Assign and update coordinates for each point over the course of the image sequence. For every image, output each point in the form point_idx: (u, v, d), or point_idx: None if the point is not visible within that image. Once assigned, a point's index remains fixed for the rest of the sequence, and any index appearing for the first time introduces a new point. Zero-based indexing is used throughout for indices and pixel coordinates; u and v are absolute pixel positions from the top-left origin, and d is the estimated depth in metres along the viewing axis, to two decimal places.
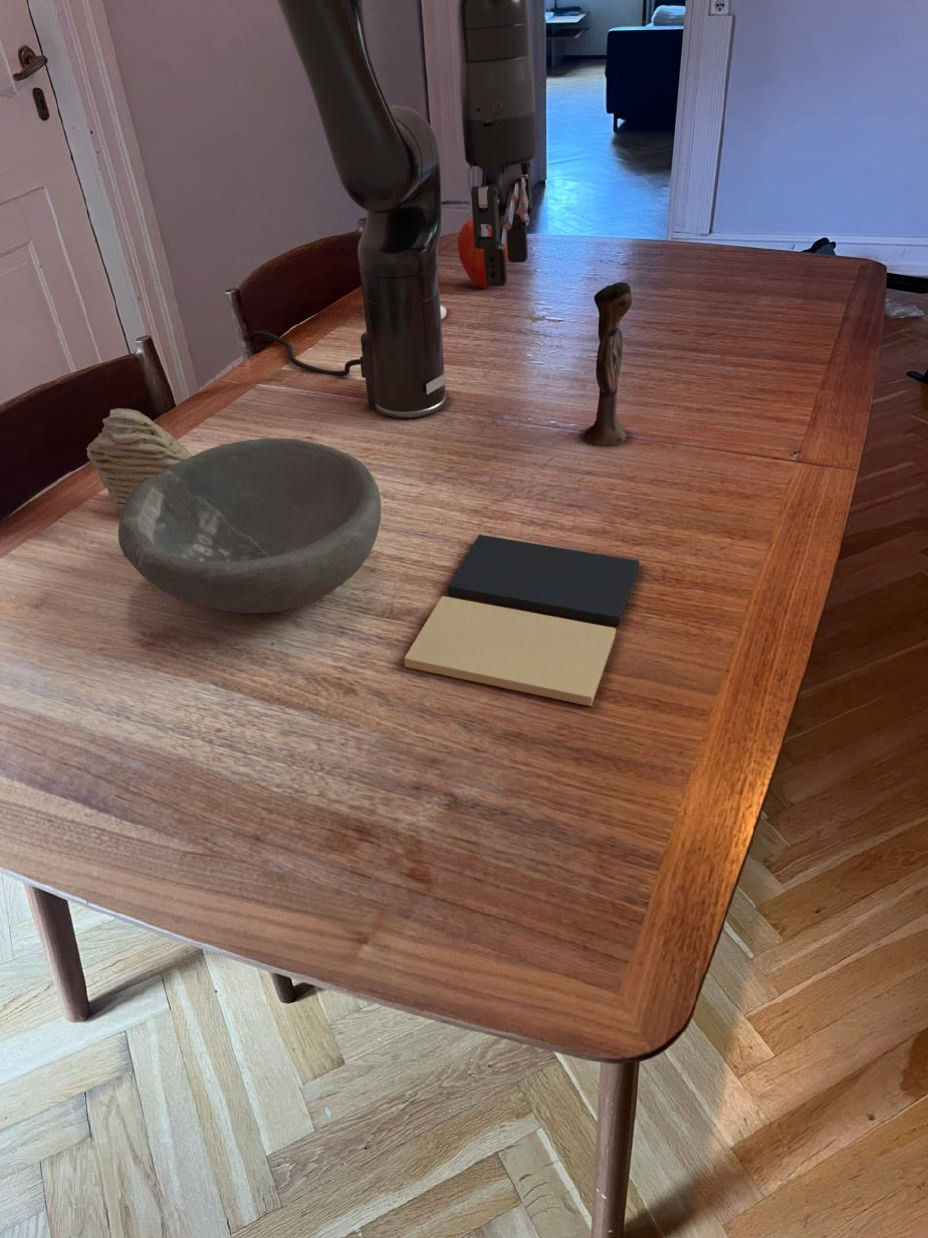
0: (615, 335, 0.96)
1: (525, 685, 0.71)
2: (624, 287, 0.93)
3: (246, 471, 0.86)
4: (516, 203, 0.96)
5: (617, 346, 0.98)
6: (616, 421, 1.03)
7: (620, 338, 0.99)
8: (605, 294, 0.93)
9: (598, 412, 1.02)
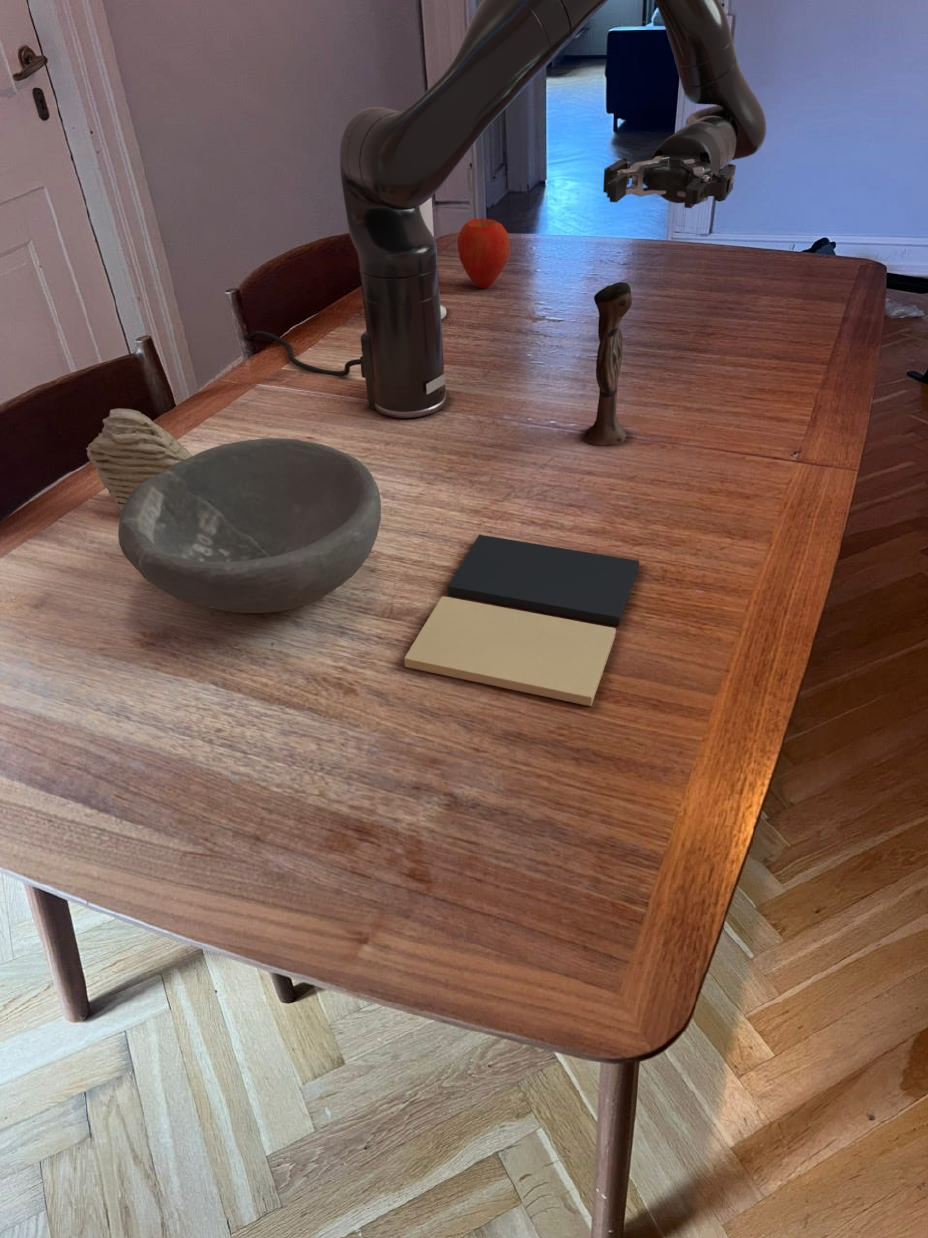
0: (615, 335, 0.96)
1: (525, 685, 0.71)
2: (624, 287, 0.93)
3: (246, 471, 0.86)
4: None
5: (617, 346, 0.98)
6: (616, 421, 1.03)
7: (620, 338, 0.99)
8: (605, 294, 0.93)
9: (598, 412, 1.02)
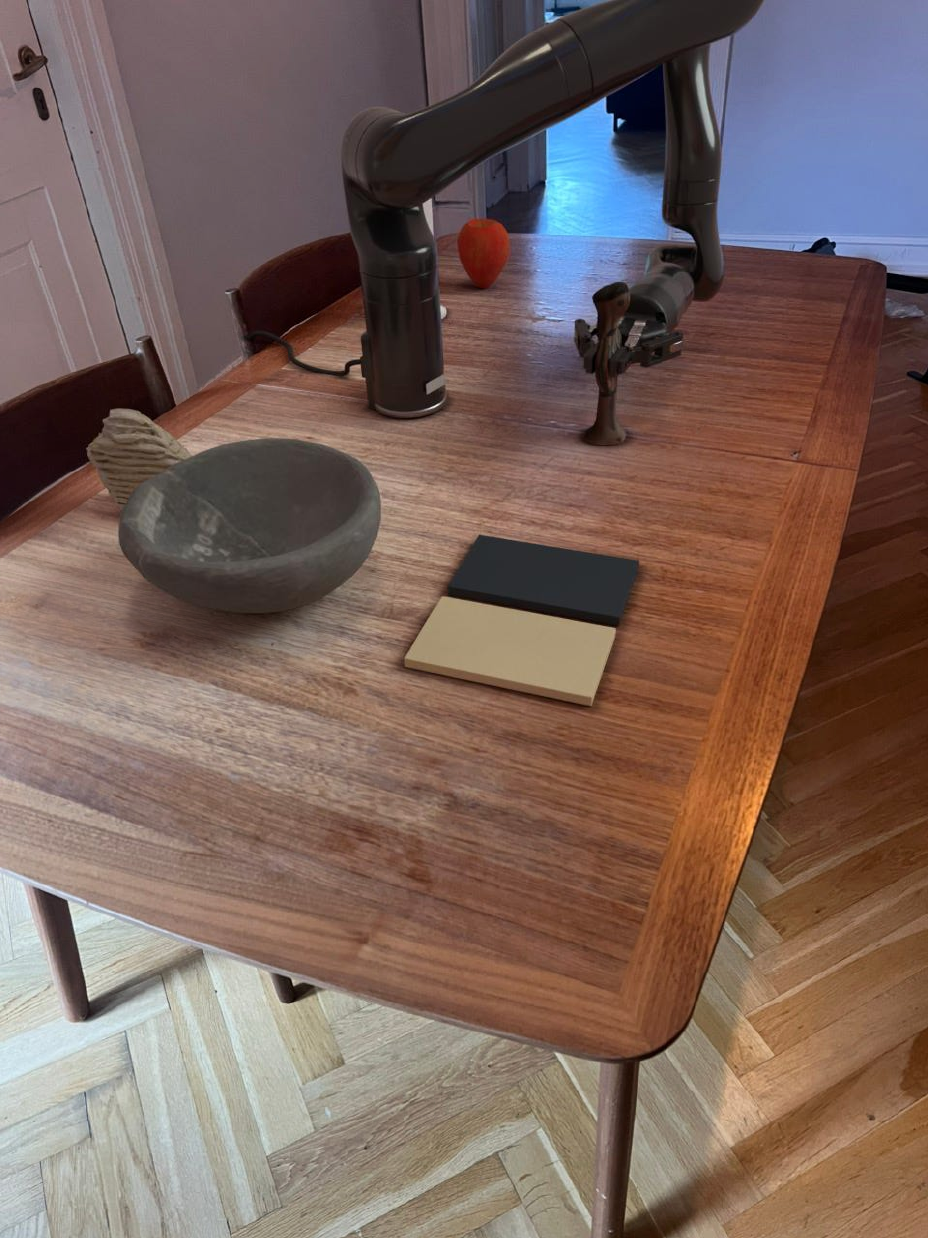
0: (614, 335, 0.96)
1: (525, 685, 0.71)
2: (622, 286, 0.93)
3: (246, 471, 0.86)
4: None
5: (616, 345, 0.98)
6: (616, 421, 1.03)
7: (619, 338, 0.99)
8: (603, 294, 0.93)
9: (598, 412, 1.02)
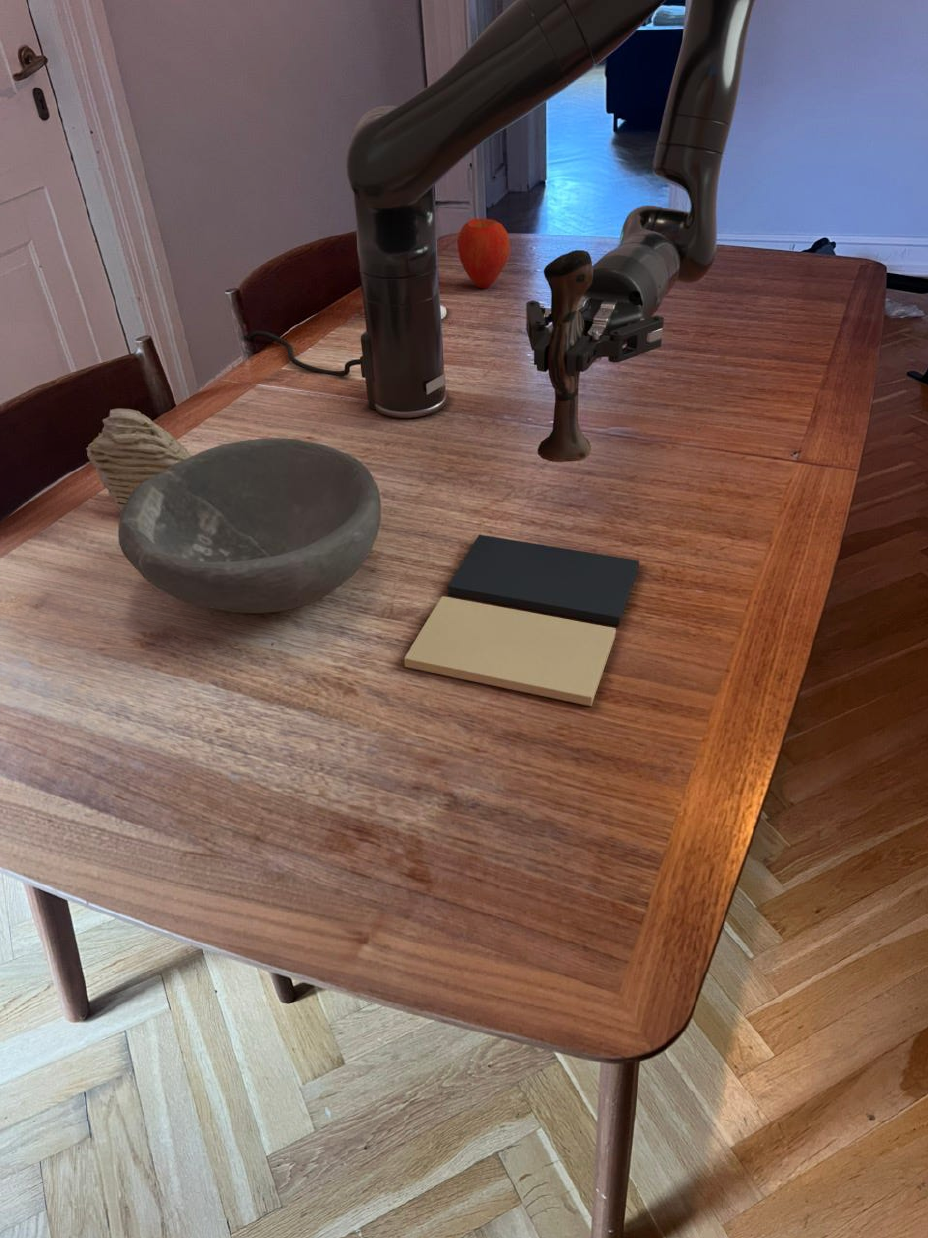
0: (573, 320, 0.74)
1: (525, 685, 0.71)
2: (582, 256, 0.70)
3: (246, 471, 0.86)
4: None
5: (576, 334, 0.75)
6: (578, 431, 0.81)
7: (580, 324, 0.76)
8: (557, 266, 0.71)
9: (554, 420, 0.80)
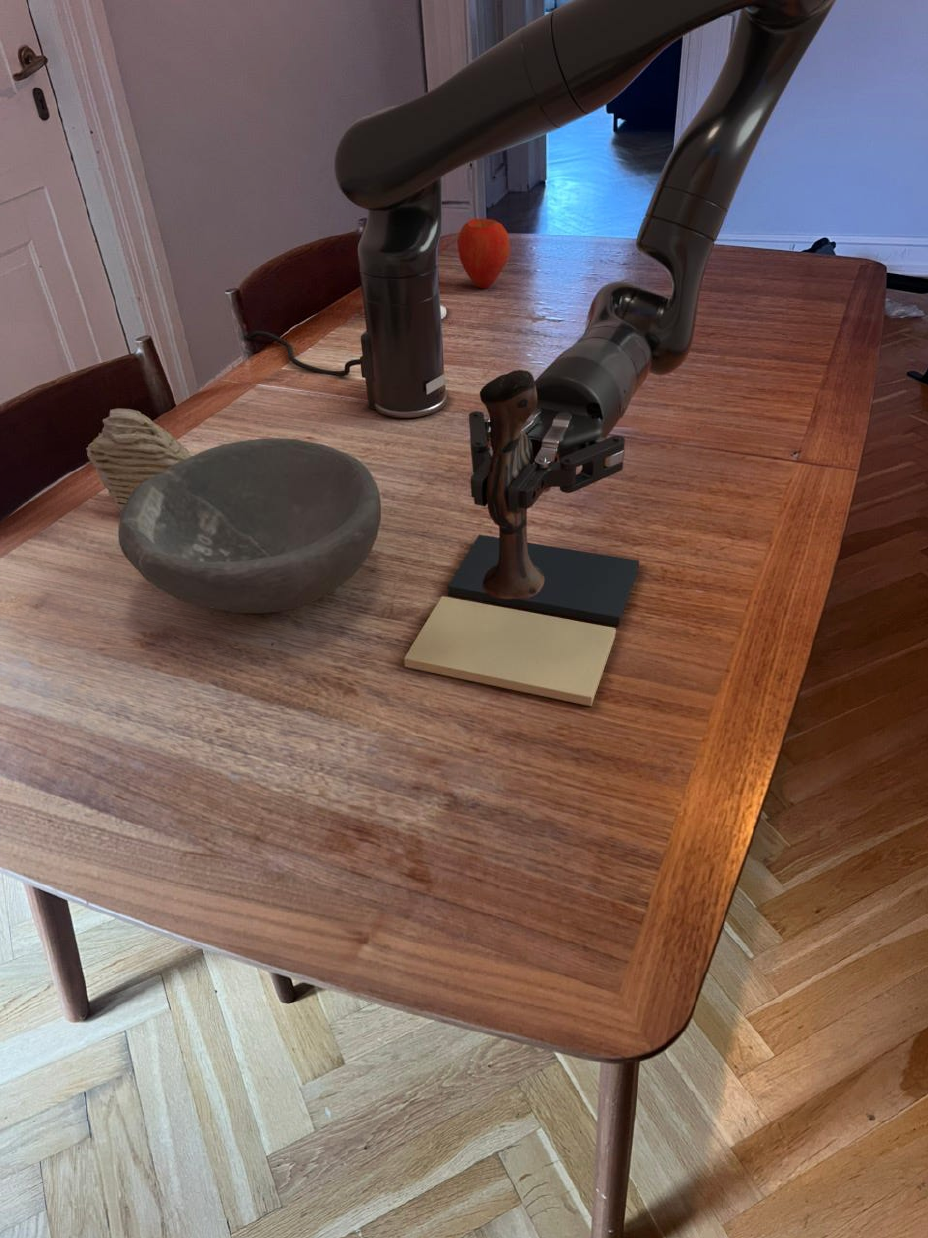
0: (515, 449, 0.63)
1: (525, 685, 0.71)
2: (523, 380, 0.59)
3: (246, 471, 0.86)
4: None
5: (520, 462, 0.64)
6: (528, 564, 0.70)
7: (527, 448, 0.65)
8: (494, 390, 0.60)
9: (500, 552, 0.69)
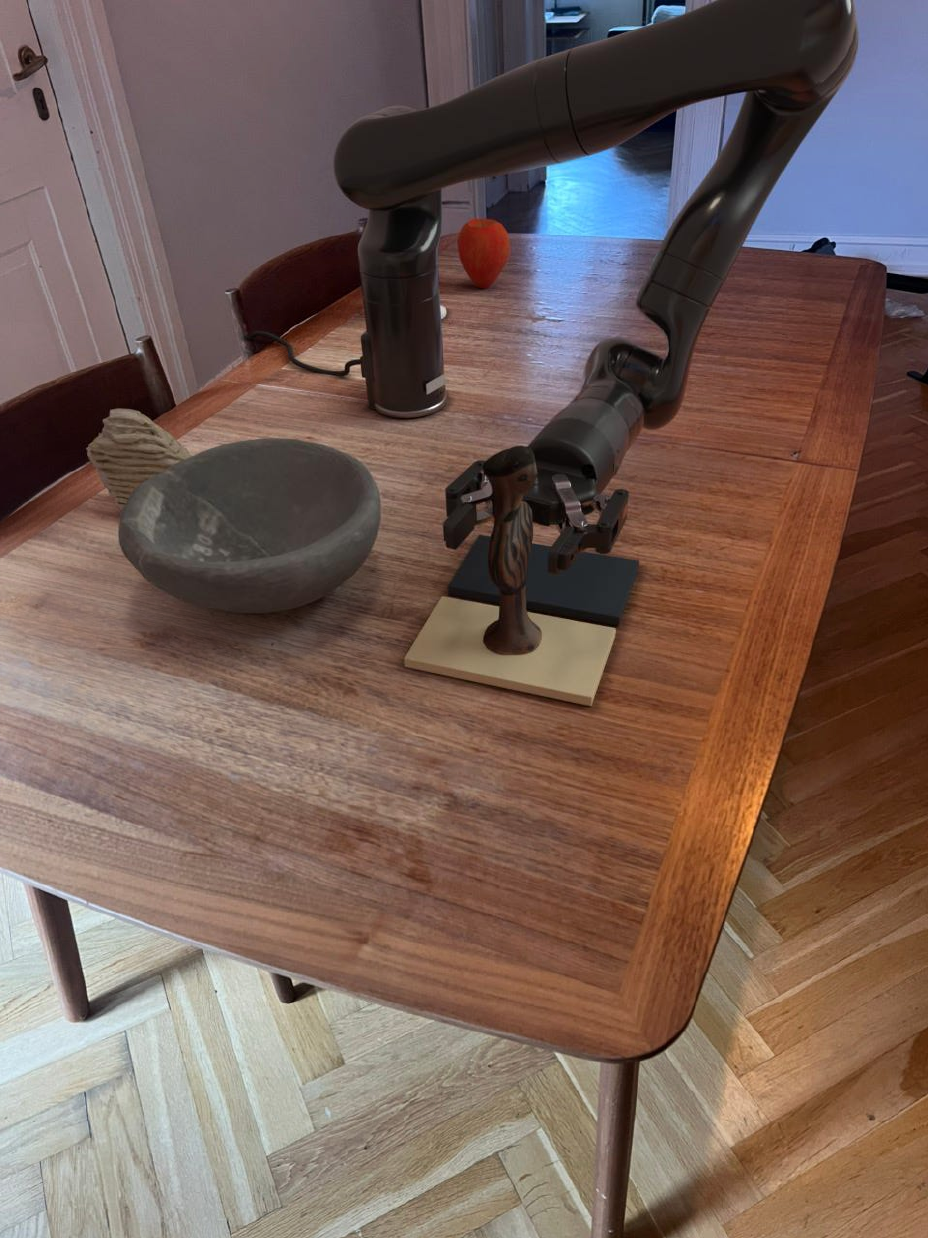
0: (515, 518, 0.66)
1: (525, 685, 0.71)
2: (524, 456, 0.63)
3: (246, 471, 0.86)
4: None
5: (520, 529, 0.68)
6: (526, 622, 0.73)
7: (527, 515, 0.69)
8: (496, 466, 0.64)
9: (500, 611, 0.73)
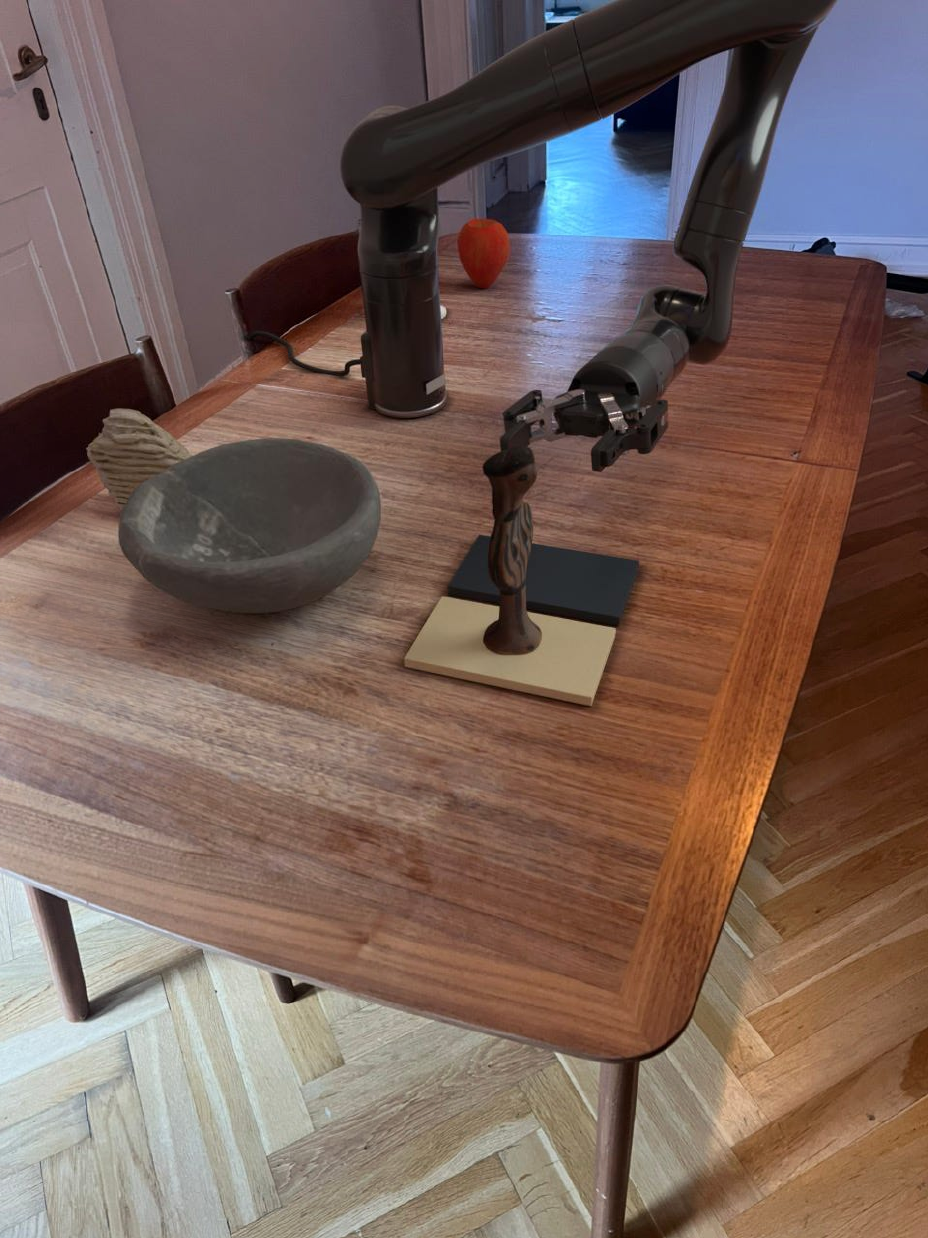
0: (515, 518, 0.66)
1: (525, 685, 0.71)
2: (524, 456, 0.63)
3: (246, 471, 0.86)
4: None
5: (520, 529, 0.68)
6: (526, 622, 0.73)
7: (527, 515, 0.69)
8: (496, 466, 0.64)
9: (500, 611, 0.73)
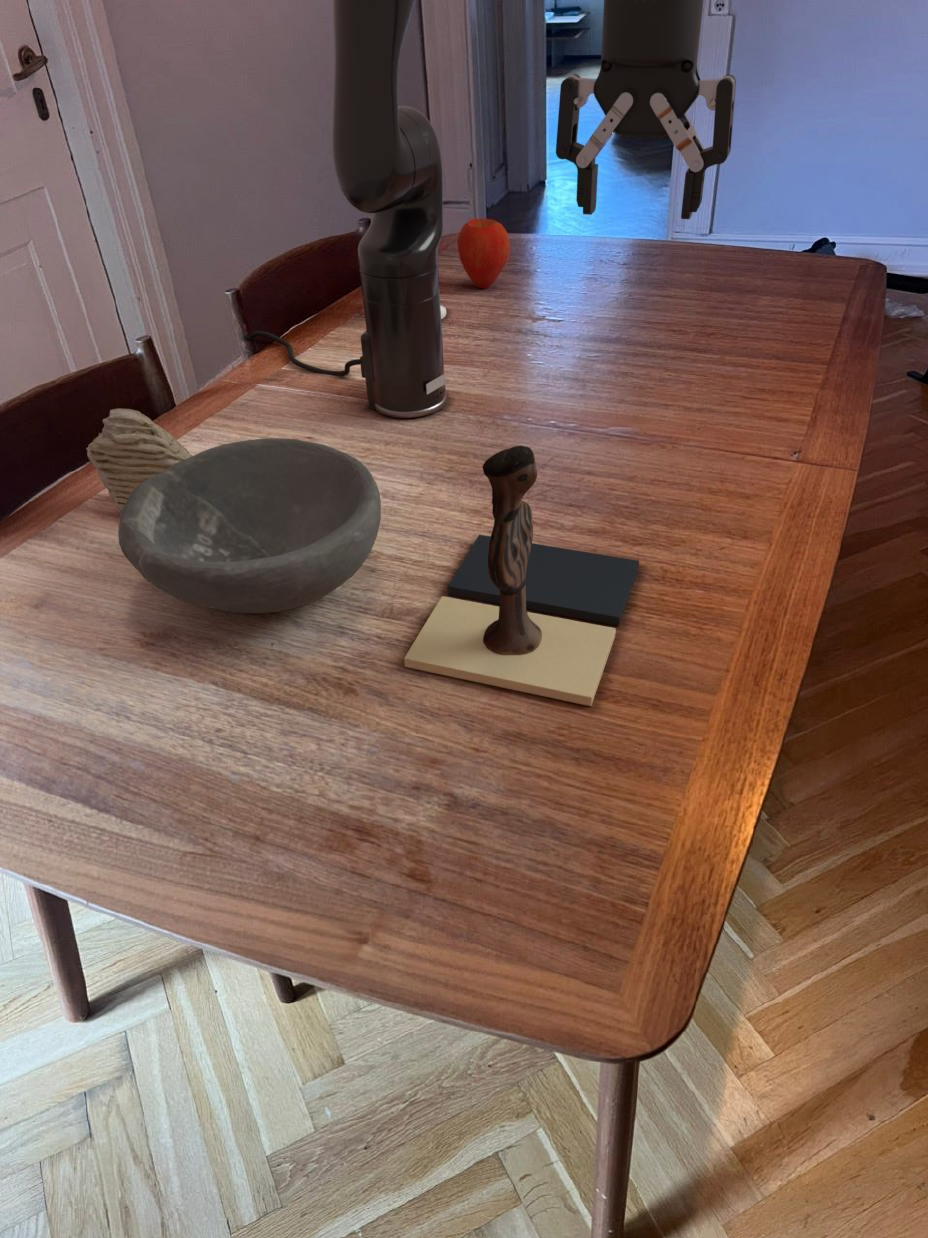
0: (515, 518, 0.66)
1: (525, 685, 0.71)
2: (524, 456, 0.63)
3: (246, 471, 0.86)
4: (655, 127, 0.72)
5: (520, 529, 0.68)
6: (526, 622, 0.73)
7: (527, 515, 0.69)
8: (496, 466, 0.64)
9: (500, 611, 0.73)
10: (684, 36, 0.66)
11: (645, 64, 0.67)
